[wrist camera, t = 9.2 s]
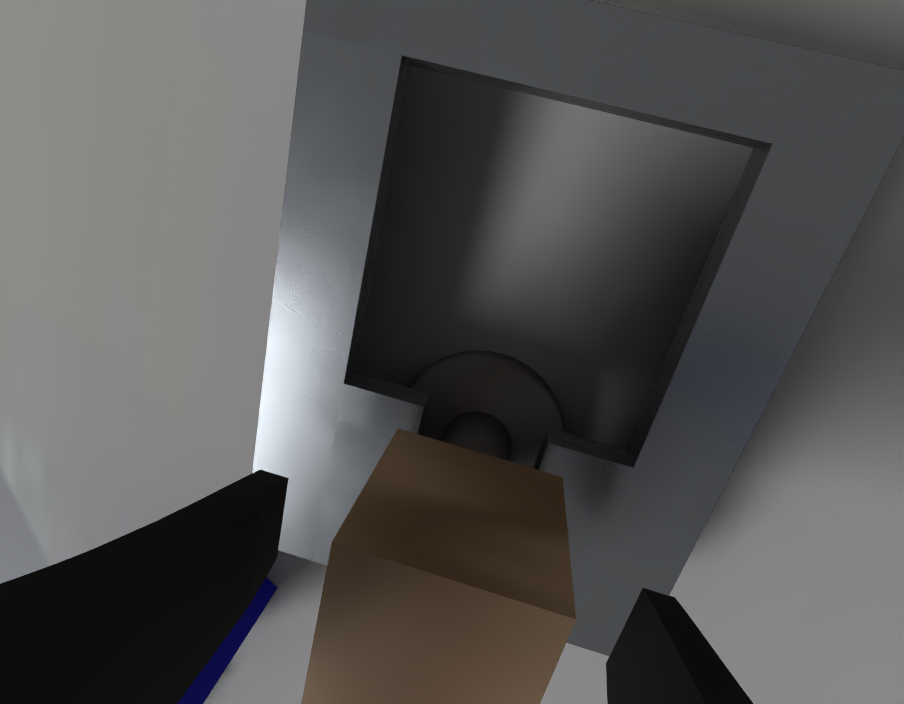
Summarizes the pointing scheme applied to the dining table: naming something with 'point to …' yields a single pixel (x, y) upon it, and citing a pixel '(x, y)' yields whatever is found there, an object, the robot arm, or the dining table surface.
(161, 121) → the dining table surface
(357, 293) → the notched window frame
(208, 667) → the blue curved bracket
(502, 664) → the peg
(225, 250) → the dining table surface
